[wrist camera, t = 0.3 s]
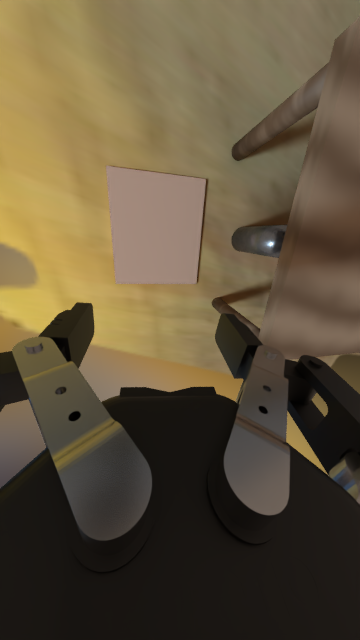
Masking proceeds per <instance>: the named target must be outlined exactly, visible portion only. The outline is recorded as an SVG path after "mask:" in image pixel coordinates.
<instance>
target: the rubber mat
mask: <svg viewBox="0 0 360 640" xmlns="http://www.w3.org/2000/svg"><path fill="white" fill-rule="evenodd" d="M106 170H107V183H108V195H109V207H110V219H111V231H112V243H113V255H114V267H115V279H116V284H196V282H197V271H198V260H199V249H200V239H201V228H202V217H203V206H204V195H205V184H206V179H202V178H194V177H187V176H179V175H172V174H164V173H157V172H149V171H142V170H134V169H127V168H119V167H112V166H106Z"/></svg>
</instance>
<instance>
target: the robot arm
mask: <svg viewBox="0 0 360 640" xmlns="http://www.w3.org/2000/svg"><path fill="white" fill-rule="evenodd" d="M93 335H94V317H93V306H92V304H91V303H79V302H77V303H76V304H75V305H74V307H73V308H72V309H71V310H65V311H63V312H62V313H60V314H58V315H57V316H56V317H55V318H54V320H53V321H52V322H51V323H50V324H49V325H48V326H47V327H46V328H45V330H44V331H43V332H42V333H41V334H40V335H39V336H38V337H34V338H29V339H26V340H23V341H21V342H19V343H18V344H16V345H15V346H14V347H13V349H12V351H10V352H4V353H0V412H1V410H2V409H3V407H4V406H5V405H7V404H11V403H15V402H19V401H23V400H27V399H29V401H30V404H31V407H32V410H33V412H34V415H35V418H36V421H37V423H38V426H39V429H40V431H41V434H42V437H43V440H44V443H45V445H46V449H45V450H43V451H42V452H41V453H40V454H39V455H38V456H37V457H35V458H34V459H33V460H32V461H31V462H30V463H29V464H27V465H26V466H25V467H24V468H23V469H22V470H21V471H20V472H18V473H17V474H16V475H15V476H14V477H13V478H12V479H10V480H9V481H8V482H7V483H6V484H5V485H4V486H2V487H1V488H0V640H360V394H359V393H358V392H357V391H355V390H354V389H353V388H352V387H351V386H350V385H349V384H348V383H347V382H346V381H345V380H343V379H342V378H341V377H340V376H339V375H338V374H337V373H336V372H335V371H334V370H333V369H331V368H330V367H329V366H328V365H327V364H326V363H325V362H323V361H322V360H320V359H318V358H316V357H313V356H309V355H302V356H301V357H300V359H299V360H298V362H296V361H291V360H287V359H285V357H284V355H283V354H282V353H281V352H280V351H279V350H277V349H275V348H273V347H270V346H266V345H263V344H262V342H261V341H260V340H259V339H258V338H257V337H256V335H254V333H253V332H252V331H251V330H250V328H249V327H248V326H247V325H245V324H244V323H242V322H241V321H240V320H239V319H238V318H237V317H236V316H235V314H229V313H222V314H221V316H220V319H219V323H218V326H217V330H216V334H215V340H216V343H217V345H218V347H219V349H220V351H221V353H222V355H223V357H224V359H225V361H226V363H227V365H228V367H229V369H230V371H231V373H232V375H233V377H234V378H243V380H244V381H243V383H242V385H241V388H240V391H239V394H238V397H237V399H236V402H235V401H233V400H231V399H229V398H227V397H224V396H221V395H218V394H216V391H215V389H214V387H190V388H186V389H182V390H178V391H174V392H166V391H160V390H156V389H151V388H146V387H135V388H134V387H124V388H121V390H120V395H119V396H115V397H112V398H109V399H107V400H105V401H102V402H100V400H99V398H98V397H97V396H96V394H95V393H94V391H93V390H92V388H91V387H90V385H89V384H88V382H87V381H86V380H85V378H84V377H83V375H82V374H81V372H80V371H79V369H78V368H79V366H80V364H81V362H82V360H83V357H84V355H85V353H86V351H87V349H88V347H89V344H90V342H91V340H92V338H93ZM316 393H318V394H319V395H320V396H321V398H323V400H324V401H325V402H326V404H327V406H328V414H327V415H326V416H325V417H324V416H323V414H322V413H321V412H320V411H319V409H318V408H317V407H316V406H315V404H314V403H313V402H312V398H313V397H314V396H315V394H316ZM287 410H288V412H289V413H290V415H291V417H292V418H293V420H294V421H295V423H296V425H297V426H298V428H299V429H300V431H301V432H302V434H303V435H304V437H305V439H306V440H307V442H308V443H309V445H310V447H311V448H312V450H313V451H314V453H315V454H316V456H317V458H318V459H319V461H320V462H321V464H322V466H323V467H324V469H325V470H326V472H327V473H328V475H329V476H328V475H327V474H325V473H324V472H323V471H322V470H321V469H319V468H318V467H317V466H316V465H314V464H313V463H312V462H311V461H309V460H308V459H307V458H305V457H304V456H303V455H302V454H301V453H299V452H298V451H297V450H296V449H294V448H293V447H292V446H290V445H289V444H288V443H287V442H286V429H287Z"/></svg>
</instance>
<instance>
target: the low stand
mask: <svg viewBox="0 0 360 640" xmlns="http://www.w3.org/2000/svg"><path fill="white" fill-rule="evenodd" d="M316 108H317V112H316V116H315V120H314V124H313V128H312V131H311V135H310V139H309V143H308V147H307V151H306V155H305V159H304V162H303V166H302V170H301V174H300V178H299V182H298V186H297V190H296V194H295V197H294V201H293V205H292V209H291V213H290V217H289V221H288V225H287V228H286V232H285V236H284V240H283V244H282V248H281V252H280V256H279V260H278V263H277V267H276V271H275V275H274V279H273V283H272V287H271V291H270V295H269V298H268V302H267V306H266V310H265V314H264V318H263V322H262V326H261V329H259V328H258V327H257V326H255V325H254V324H253V323H251V322H250V321H249V320H247V319H246V318H245V317H244V316H242V315H241V314H240V313H238V312H237V311H236V310H234V309H233V308H232V307H230V306H229V305H228V304H227V303H225V302H224V301H223V300H221V299H220V298H215V299H214V300H213V301H212V306H213V307H214V308H215V309H216V310H217V311H218V312H219V313H220V314H222V313H229V314H235V316H236V317H237V318H238V319H239V320H240V321H241V322H242V323H244V324H245V325H247V326H248V327H249V328H250V330H251V331H252V332H253V333H254V335H256V337H257V338H258V339H259V340H260V341H261V342H262V344H263V345H266V346H270V347H273V348H275V349H277V350H279V351H280V352H281V353H282V354H283V355H284V357H285V359H287V360H290V359H300V357H301V356H302V355H309V356H313V357H320V356H330V355H340V354H350V353H360V17H358V18H357V19H356V20H355V21H354V22H353V23H352V24H351V25H350V26H349V27H348V28H347V29H346V30H345V31H344V32H343V33H342V34H341V35H340V36H339V37H338V38H337V39H335V42H334V46H333V50H332V54H331V58H330V61H329V63H328V64H326V65H325V66H324V67H323V68H322V69H321V70H319V71H318V72H317V73H316V74H315V75H314V76H313V77H311V78H310V79H309V80H308V81H307V82H306V83H305V84H303V85H302V86H301V87H300V88H299V89H298V90H297V91H295V92H294V93H293V94H292V95H291V96H290V97H289V98H287V99H286V100H285V101H284V102H283V103H282V104H281V105H279V106H278V107H277V108H276V109H275V110H274V111H273V112H271V113H270V114H269V115H268V116H267V117H266V118H264V119H263V120H262V121H261V122H260V123H259V124H258V125H256V126H255V127H254V128H253V129H252V130H251V131H250V132H248V133H247V134H246V135H245V136H244V137H243V138H242V139H240V140H239V141H238V142H237V143H236V144H235V145H234V146H233V148H232V156H233V158H234V159H235V160H236V161H239V160H241V159H243V158H244V157H246V156H247V155H249V154H250V153H252V152H253V151H254V150H256V149H257V148H259V147H260V146H262V145H263V144H265V143H266V142H268V141H269V140H271V139H272V138H274V137H275V136H277V135H278V134H279V133H281V132H282V131H284V130H285V129H287V128H288V127H290V126H291V125H293V124H294V123H296V122H297V121H299V120H300V119H302V118H303V117H304V116H306V115H307V114H309V113H310V112H312V111H313V110H315V109H316Z"/></svg>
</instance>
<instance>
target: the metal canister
mask: <svg viewBox="0 0 360 640" xmlns="http://www.w3.org/2000/svg"><path fill="white" fill-rule="evenodd" d="M286 228H287V225H273V226H253V227H241V228H238V229H237V230H236V231H235V232H234V234H233V236H232V246H233V248H234V249H235V250H237V251H242V252H247V253H253V254H259V255H264V256H270V257H276V258H279V256H280V252H281V248H282V244H283V240H284V236H285V232H286Z"/></svg>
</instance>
